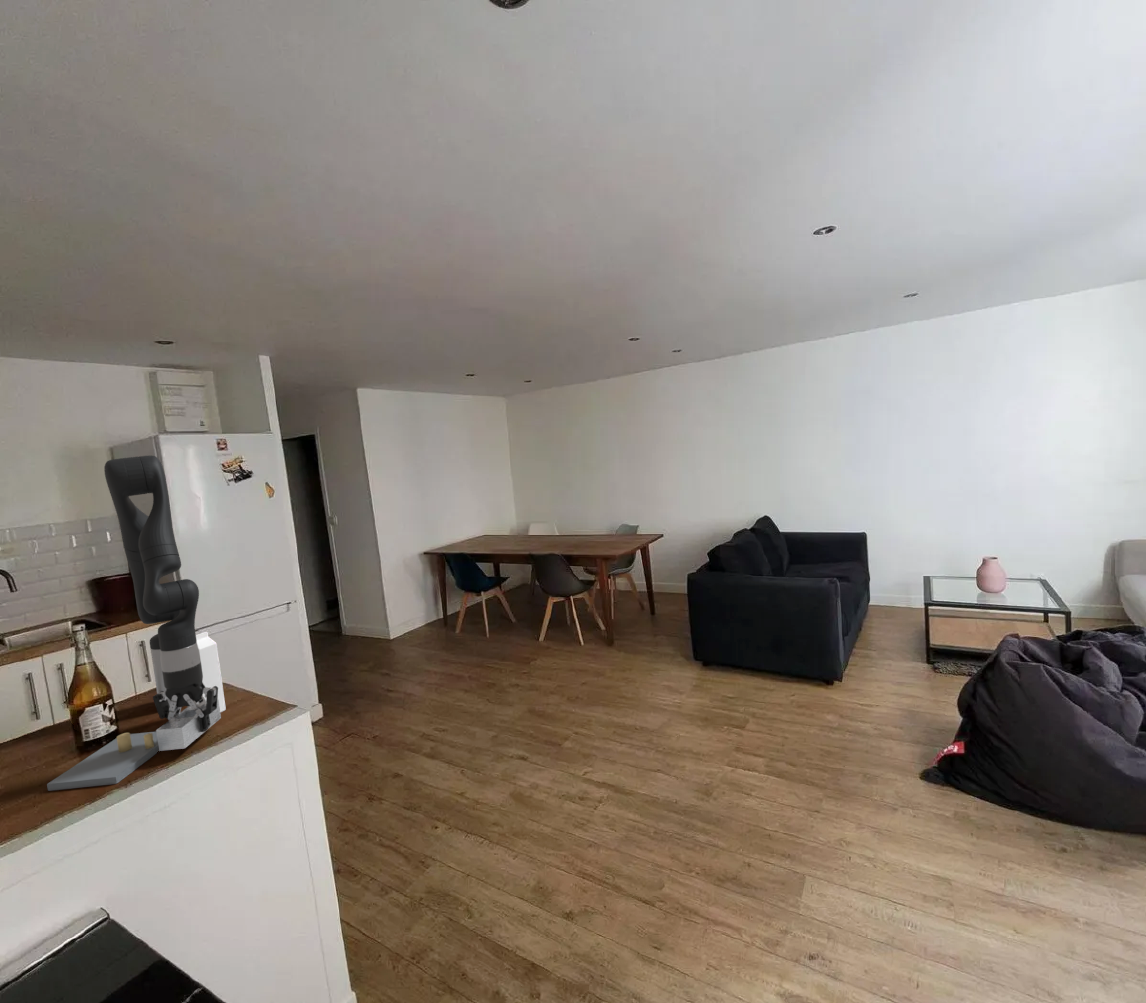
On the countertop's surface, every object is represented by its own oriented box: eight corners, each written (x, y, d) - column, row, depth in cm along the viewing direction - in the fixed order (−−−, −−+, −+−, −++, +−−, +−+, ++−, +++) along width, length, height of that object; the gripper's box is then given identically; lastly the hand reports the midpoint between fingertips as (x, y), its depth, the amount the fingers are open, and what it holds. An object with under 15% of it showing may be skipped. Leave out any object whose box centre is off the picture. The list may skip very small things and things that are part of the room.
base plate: (122, 740, 133) (119, 721, 132) (180, 735, 133) (177, 715, 133) (48, 790, 113) (44, 768, 112) (116, 783, 113) (113, 761, 113)
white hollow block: (184, 748, 122) (181, 727, 122) (159, 750, 122) (156, 730, 121) (221, 718, 136) (218, 699, 136) (198, 720, 136) (195, 701, 135)
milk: (189, 718, 143) (176, 638, 141) (211, 707, 148) (199, 630, 146) (205, 720, 140) (192, 639, 139) (226, 709, 146) (215, 631, 144)
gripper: (222, 655, 131) (231, 721, 133) (161, 660, 131) (171, 726, 132) (202, 667, 124) (212, 737, 126) (138, 673, 123) (149, 743, 125)
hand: (191, 731), depth 129 cm, fingers closed on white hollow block, 5 cm apart
